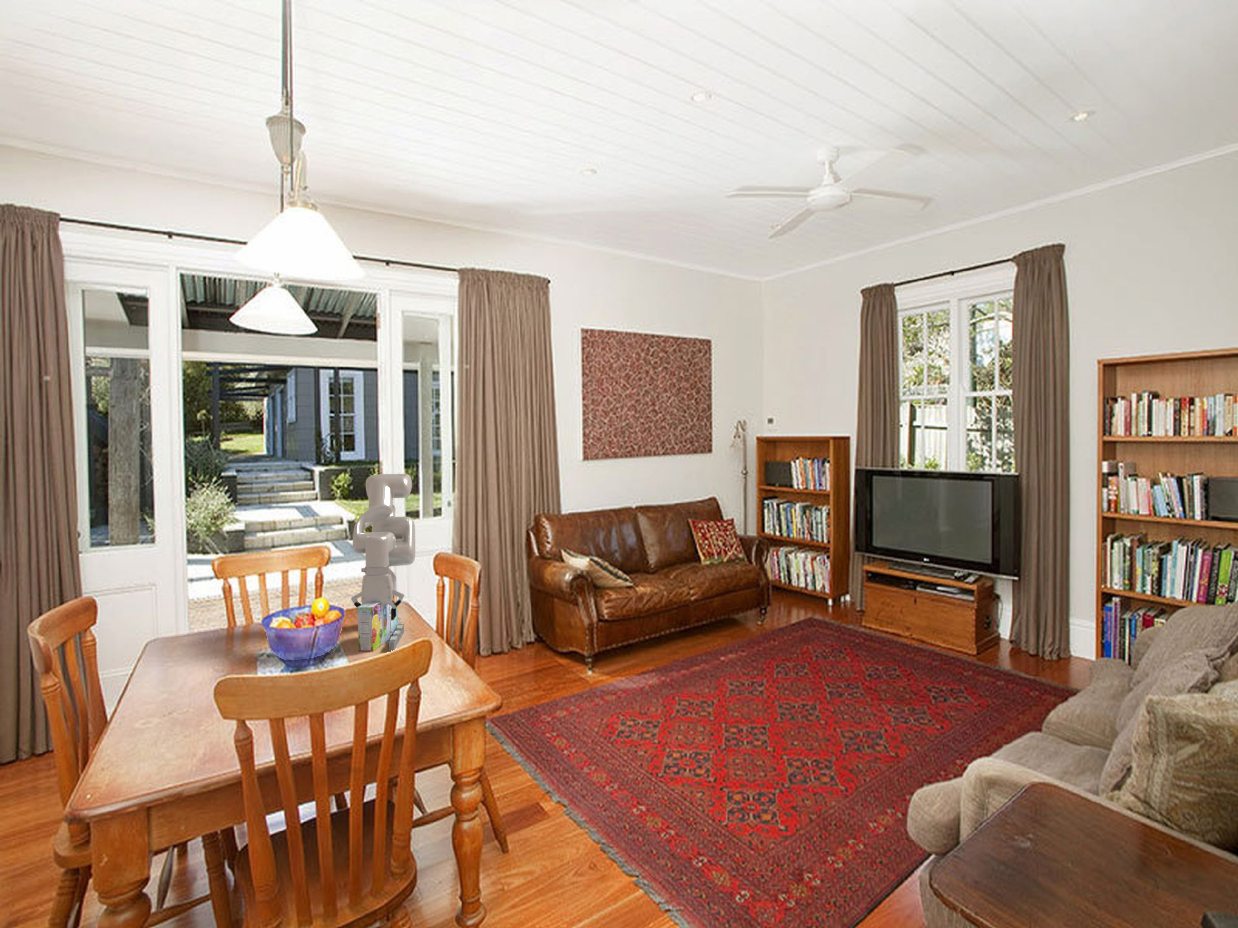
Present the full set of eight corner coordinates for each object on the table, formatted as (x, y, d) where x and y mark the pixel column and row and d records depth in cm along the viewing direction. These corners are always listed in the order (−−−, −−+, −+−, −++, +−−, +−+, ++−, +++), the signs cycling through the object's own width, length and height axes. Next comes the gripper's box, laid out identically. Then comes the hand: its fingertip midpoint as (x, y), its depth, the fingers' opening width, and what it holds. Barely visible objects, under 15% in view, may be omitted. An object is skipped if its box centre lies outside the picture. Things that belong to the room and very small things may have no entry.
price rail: (399, 632, 232) (399, 623, 231) (404, 631, 232) (404, 623, 232) (388, 651, 210) (388, 641, 210) (394, 650, 210) (394, 641, 210)
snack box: (384, 632, 231) (383, 591, 231) (399, 632, 231) (398, 591, 231) (357, 651, 210) (356, 606, 210) (373, 651, 210) (373, 606, 210)
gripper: (348, 574, 214) (349, 624, 214) (401, 571, 217) (402, 621, 218) (353, 569, 221) (354, 618, 222) (405, 567, 224) (406, 615, 225)
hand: (378, 619), depth 220 cm, fingers open, 9 cm apart
